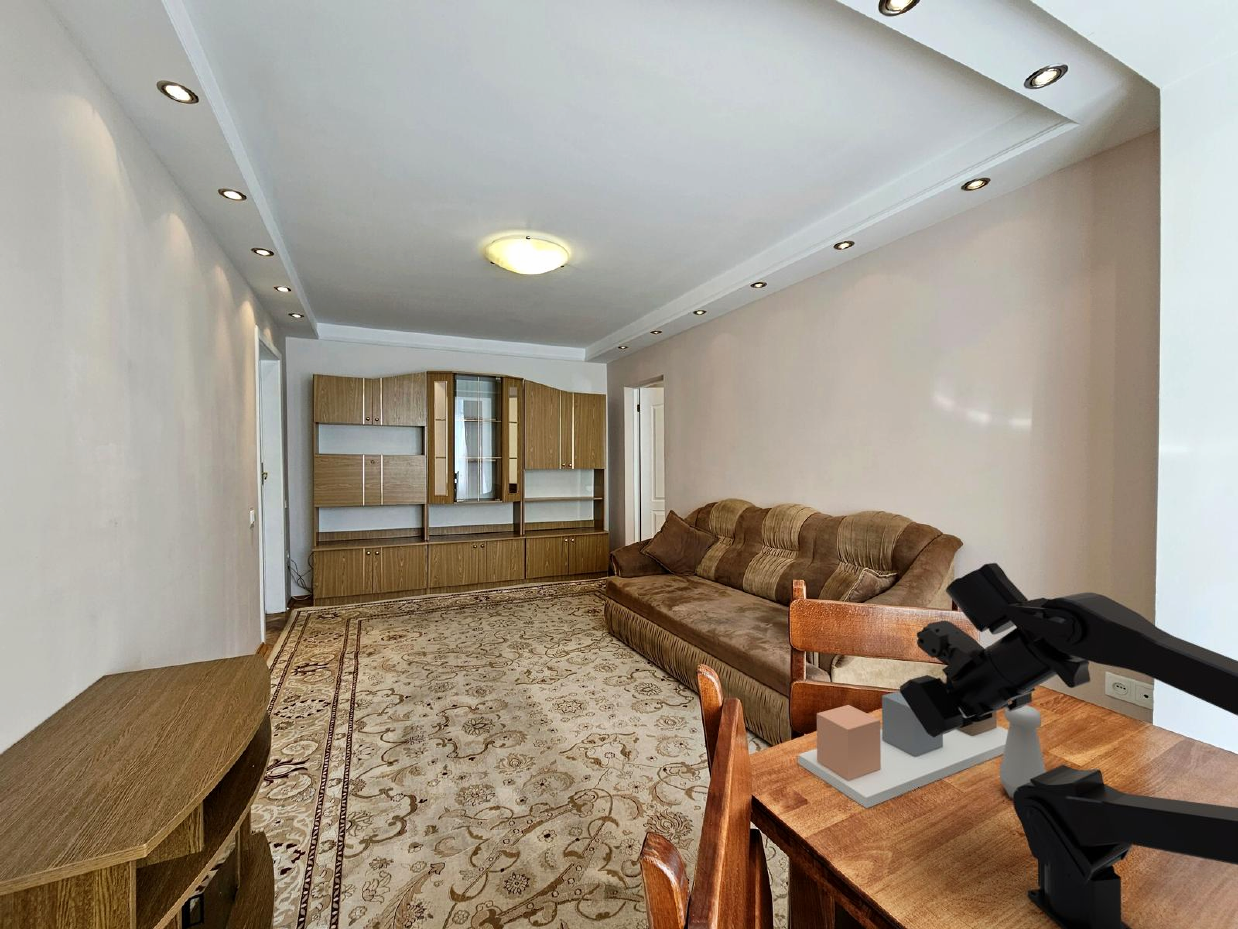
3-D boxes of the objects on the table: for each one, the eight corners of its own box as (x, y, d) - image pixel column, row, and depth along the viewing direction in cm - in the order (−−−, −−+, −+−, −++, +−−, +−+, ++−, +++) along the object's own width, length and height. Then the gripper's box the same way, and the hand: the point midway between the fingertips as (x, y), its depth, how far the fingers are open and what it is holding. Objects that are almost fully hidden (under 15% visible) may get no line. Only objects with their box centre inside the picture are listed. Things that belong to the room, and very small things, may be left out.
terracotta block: (880, 769, 84) (880, 720, 84) (848, 780, 81) (847, 729, 81) (848, 751, 89) (848, 704, 90) (817, 761, 86) (816, 713, 86)
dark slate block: (942, 746, 91) (942, 701, 91) (915, 756, 88) (914, 709, 88) (909, 731, 96) (909, 688, 96) (882, 740, 93) (882, 695, 93)
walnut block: (996, 727, 97) (996, 685, 97) (972, 736, 94) (972, 692, 94) (962, 714, 103) (962, 673, 103) (938, 721, 100) (938, 680, 100)
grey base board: (950, 715, 106) (950, 707, 106) (1024, 745, 94) (1024, 736, 94) (798, 763, 89) (798, 754, 89) (866, 808, 77) (866, 797, 77)
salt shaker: (1058, 812, 76) (1057, 718, 76) (1011, 807, 77) (1011, 714, 77) (1035, 787, 82) (1034, 700, 82) (992, 783, 83) (991, 697, 83)
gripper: (1005, 598, 74) (928, 656, 83) (913, 615, 65) (839, 677, 75) (1075, 677, 66) (982, 730, 76) (982, 707, 58) (891, 762, 68)
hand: (923, 721), depth 74 cm, fingers closed
